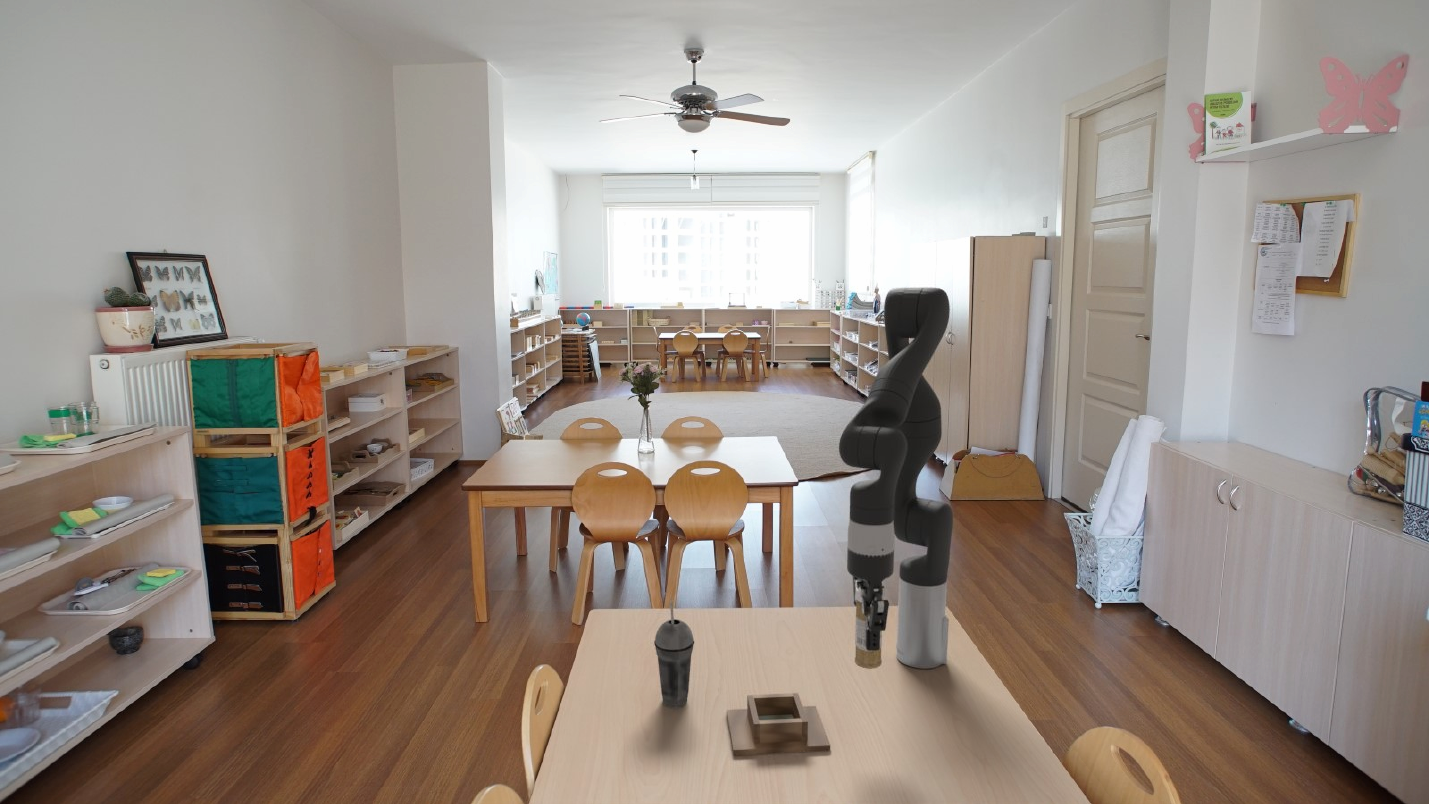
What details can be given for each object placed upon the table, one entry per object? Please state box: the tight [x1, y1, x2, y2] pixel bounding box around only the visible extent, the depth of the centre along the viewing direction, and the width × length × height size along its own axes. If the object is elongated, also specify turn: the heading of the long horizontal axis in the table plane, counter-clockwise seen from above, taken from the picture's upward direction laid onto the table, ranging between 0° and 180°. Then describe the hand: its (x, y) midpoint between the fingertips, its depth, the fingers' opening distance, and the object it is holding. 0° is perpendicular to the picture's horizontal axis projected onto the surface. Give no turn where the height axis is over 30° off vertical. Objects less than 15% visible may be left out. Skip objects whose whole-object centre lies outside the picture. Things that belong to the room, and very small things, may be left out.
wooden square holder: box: [726, 692, 831, 757], centre depth 137 cm, size 16×12×4 cm
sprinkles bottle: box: [854, 587, 883, 670], centre depth 134 cm, size 5×5×14 cm
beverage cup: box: [653, 599, 695, 708], centre depth 146 cm, size 7×7×20 cm
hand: (868, 641), depth 134 cm, fingers closed on sprinkles bottle, 4 cm apart
